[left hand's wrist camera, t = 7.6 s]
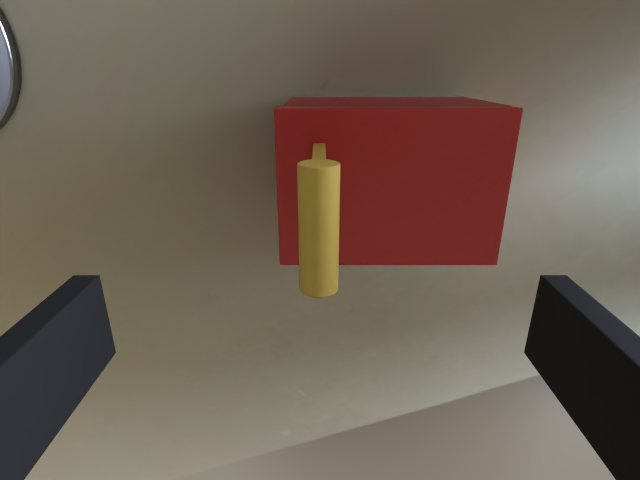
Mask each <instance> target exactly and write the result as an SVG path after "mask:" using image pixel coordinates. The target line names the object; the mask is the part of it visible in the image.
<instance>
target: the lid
mask: <svg viewBox="0 0 640 480" xmlns="http://www.w3.org/2000/svg"><path fill="white" fill-rule="evenodd" d="M522 111H523V109H522V108H519V107H514V106H277V107H276V108H274V122H275V148H276V174H277V200H278V226H279V252H280V265H299V282H300V291H301V292H302V293H303V294H305V295H307V296H310V297H318V298H320V297H328V296H331V295H333V294H335V293H336V292H337V290H338V273H339V265H496V264H497V260H498V254H499V248H500V242H501V236H502V230H503V224H504V218H505V212H506V206H507V200H508V194H509V188H510V183H511V177H512V171H513V165H514V159H515V153H516V147H517V141H518V135H519V129H520V123H521V117H522Z"/></svg>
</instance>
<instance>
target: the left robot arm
mask: <svg viewBox="0 0 640 480" xmlns="http://www.w3.org/2000/svg"><path fill="white" fill-rule="evenodd" d="M20 87H21V64H20V57H19V52H18V48H17V44H16V41H15V38H14V35H13V32H12V30H11V27H10V25H9V23H8V21H7V19H6V17H5V15H4V13H3V11H2V10H1V8H0V129H1V128H2V127H3V126H4V125H5V124H6V123H7V121H8V120H9V118H10V117H11V115H12V113H13V111H14V109H15V107H16V104H17V101H18V98H19V93H20ZM115 353H116V351H115V346H114V341H113V337H112V332H111V327H110V323H109V318H108V313H107V309H106V304H105V299H104V294H103V290H102V285H101V280H100V276H99V275H74V276H72V277H71V278H70V279H69V280H68V281H66V282H65V283H64V284H63V285H62V286H60V287H59V288H58V289H57V290H56V291H54V292H53V293H52V294H51V295H50V296H48V297H47V298H46V299H45V300H44V301H42V302H41V303H40V304H39V305H38V306H37V307H35V308H34V309H33V310H32V311H31V312H29V313H28V314H27V315H26V316H25V317H23V318H22V319H21V320H20V321H19V322H17V323H16V324H15V325H14V326H13V327H11V328H10V329H9V330H8V331H7V332H5V333H4V334H3V335H2V336H1V337H0V480H24V479H25V478H26V476H27V475H28V473H29V472H30V471H31V469H32V468H33V467H34V465H35V464H36V462H37V461H38V460H39V458H40V457H41V455H42V454H43V453H44V451H45V450H46V449H47V447H48V446H49V444H50V443H51V442H52V440H53V439H54V437H55V436H56V435H57V433H58V432H59V431H60V429H61V428H62V426H63V425H64V424H65V422H66V421H67V419H68V418H69V417H70V415H71V414H72V413H73V411H74V410H75V408H76V407H77V406H78V404H79V403H80V401H81V400H82V399H83V397H84V396H85V394H86V393H87V392H88V390H89V389H90V388H91V386H92V385H93V383H94V382H95V381H96V379H97V378H98V376H99V375H100V374H101V372H102V371H103V370H104V368H105V367H106V365H107V364H108V363H109V361H110V360H111V358H112V357H113V356H114V354H115ZM524 353H525V354H526V356H527V357H528V358H529V360H530V361H531V363H532V364H533V365H534V367H535V368H536V370H537V371H538V372H539V374H540V375H541V376H542V378H543V379H544V381H545V382H546V383H547V385H548V386H549V388H550V389H551V390H552V392H553V393H554V394H555V396H556V397H557V399H558V400H559V401H560V403H561V404H562V406H563V407H564V408H565V410H566V411H567V413H568V414H569V415H570V417H571V418H572V419H573V421H574V422H575V424H576V425H577V426H578V428H579V429H580V431H581V432H582V433H583V435H584V436H585V437H586V439H587V440H588V442H589V443H590V444H591V446H592V447H593V449H594V450H595V451H596V453H597V454H598V455H599V457H600V458H601V460H602V461H603V462H604V464H605V465H606V466H607V468H608V469H609V471H610V472H611V473H612V475H613V476H614V478H615V479H616V480H640V337H639V336H638V335H637V334H636V333H635V332H633V331H632V330H631V329H630V328H629V327H627V326H626V325H625V324H624V323H623V322H621V321H620V320H619V319H618V318H617V317H615V316H614V315H613V314H612V313H611V312H609V311H608V310H607V309H606V308H605V307H603V306H602V305H601V304H600V303H599V302H597V301H596V300H595V299H594V298H593V297H592V296H590V295H589V294H588V293H587V292H586V291H584V290H583V289H582V288H581V287H580V286H578V285H577V284H576V283H575V282H574V281H572V280H571V279H570V278H569V277H568V276H566V275H541V276H540V280H539V285H538V290H537V294H536V299H535V304H534V309H533V313H532V318H531V323H530V327H529V332H528V337H527V341H526V346H525V351H524Z"/></svg>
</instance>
